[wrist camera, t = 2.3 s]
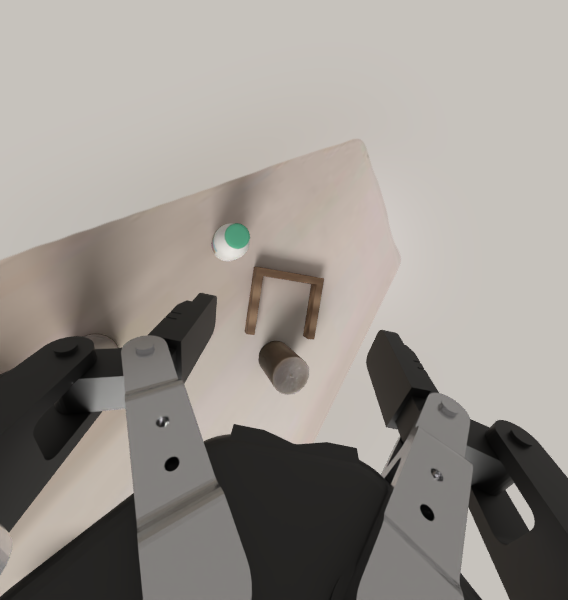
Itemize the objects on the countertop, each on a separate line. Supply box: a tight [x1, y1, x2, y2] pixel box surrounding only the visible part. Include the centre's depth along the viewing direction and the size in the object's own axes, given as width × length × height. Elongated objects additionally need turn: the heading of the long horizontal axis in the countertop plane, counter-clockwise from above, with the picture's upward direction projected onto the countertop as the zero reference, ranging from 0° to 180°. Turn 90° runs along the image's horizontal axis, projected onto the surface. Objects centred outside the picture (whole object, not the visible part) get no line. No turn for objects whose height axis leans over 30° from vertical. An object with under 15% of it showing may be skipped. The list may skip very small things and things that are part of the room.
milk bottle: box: [212, 223, 250, 261], centre depth 54 cm, size 8×8×20 cm
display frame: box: [245, 267, 324, 339], centre depth 68 cm, size 18×20×4 cm
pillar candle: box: [259, 341, 309, 394], centre depth 64 cm, size 10×10×15 cm
